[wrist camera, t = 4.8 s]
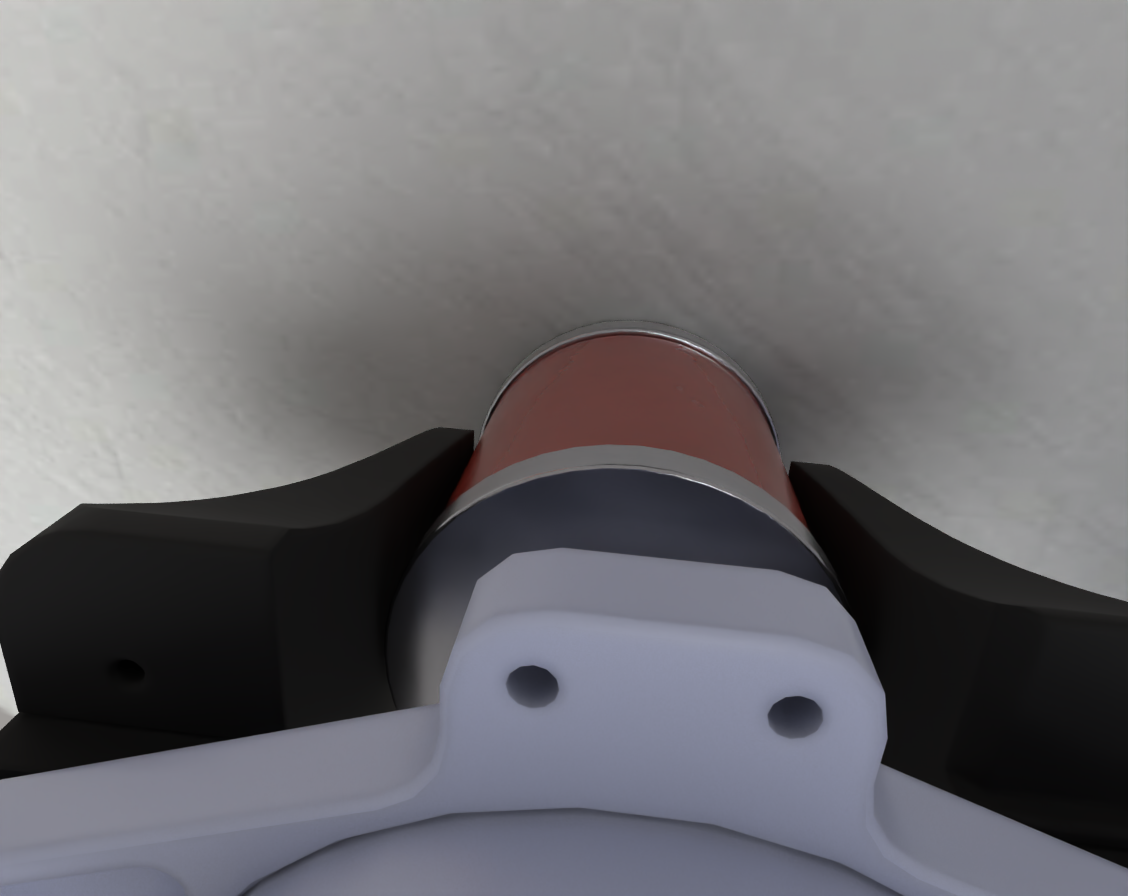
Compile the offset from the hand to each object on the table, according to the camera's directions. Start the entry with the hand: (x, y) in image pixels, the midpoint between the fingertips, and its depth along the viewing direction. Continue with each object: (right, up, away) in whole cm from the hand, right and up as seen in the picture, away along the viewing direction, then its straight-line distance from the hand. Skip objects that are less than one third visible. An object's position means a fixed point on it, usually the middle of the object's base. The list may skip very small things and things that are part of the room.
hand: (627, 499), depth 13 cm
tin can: (0, +1, +1) cm, 2 cm away
